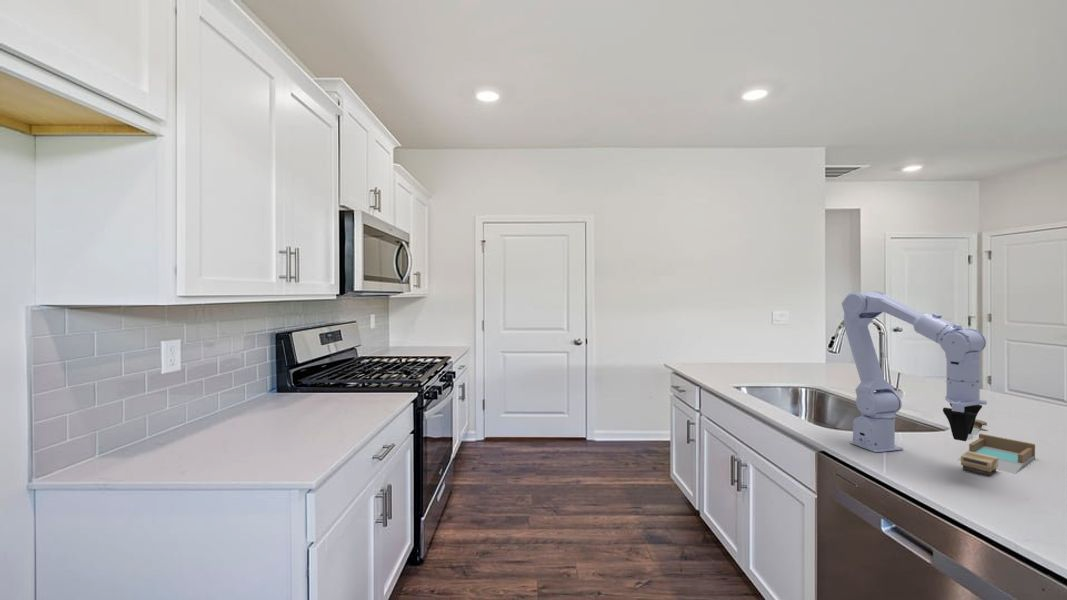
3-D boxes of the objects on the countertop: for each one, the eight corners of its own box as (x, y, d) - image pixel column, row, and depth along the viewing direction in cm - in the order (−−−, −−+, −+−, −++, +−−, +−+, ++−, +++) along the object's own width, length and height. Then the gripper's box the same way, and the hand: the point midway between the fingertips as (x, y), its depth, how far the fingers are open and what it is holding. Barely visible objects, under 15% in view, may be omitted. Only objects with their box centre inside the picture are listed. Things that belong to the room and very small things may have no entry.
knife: (975, 442, 128) (951, 435, 132) (973, 447, 128) (950, 440, 132) (993, 423, 143) (972, 417, 147) (992, 427, 144) (971, 422, 148)
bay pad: (1015, 462, 112) (1015, 462, 112) (974, 453, 118) (974, 453, 118) (1023, 456, 115) (1023, 456, 115) (982, 448, 122) (982, 447, 122)
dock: (1015, 477, 107) (1015, 458, 107) (957, 463, 116) (957, 445, 116) (1035, 461, 116) (1035, 444, 116) (980, 449, 125) (980, 433, 125)
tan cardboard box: (989, 477, 105) (989, 463, 105) (960, 470, 109) (960, 456, 109) (998, 471, 108) (998, 457, 108) (969, 464, 113) (969, 451, 113)
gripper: (982, 386, 99) (982, 447, 99) (990, 378, 108) (990, 434, 108) (939, 382, 104) (939, 440, 104) (950, 374, 113) (950, 427, 113)
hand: (962, 436), depth 107 cm, fingers open, 7 cm apart
